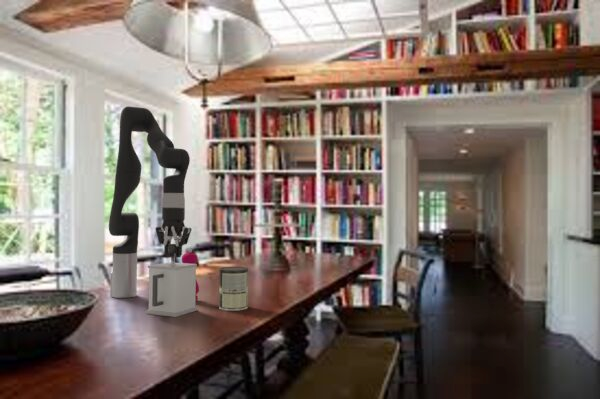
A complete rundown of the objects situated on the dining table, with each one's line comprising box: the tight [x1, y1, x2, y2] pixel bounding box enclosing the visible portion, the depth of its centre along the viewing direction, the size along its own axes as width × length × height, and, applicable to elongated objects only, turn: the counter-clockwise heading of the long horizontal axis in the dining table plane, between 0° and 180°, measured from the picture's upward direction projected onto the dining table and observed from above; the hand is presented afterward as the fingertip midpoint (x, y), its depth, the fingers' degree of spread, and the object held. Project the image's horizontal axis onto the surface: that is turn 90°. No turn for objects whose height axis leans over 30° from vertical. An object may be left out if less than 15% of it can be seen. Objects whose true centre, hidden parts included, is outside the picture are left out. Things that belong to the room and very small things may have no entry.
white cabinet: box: [146, 261, 198, 318], centre depth 173 cm, size 12×16×16 cm
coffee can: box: [218, 266, 249, 312], centre depth 182 cm, size 10×10×14 cm
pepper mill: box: [181, 248, 200, 303], centre depth 195 cm, size 7×7×20 cm
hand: (173, 256), depth 175 cm, fingers closed on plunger, 3 cm apart
